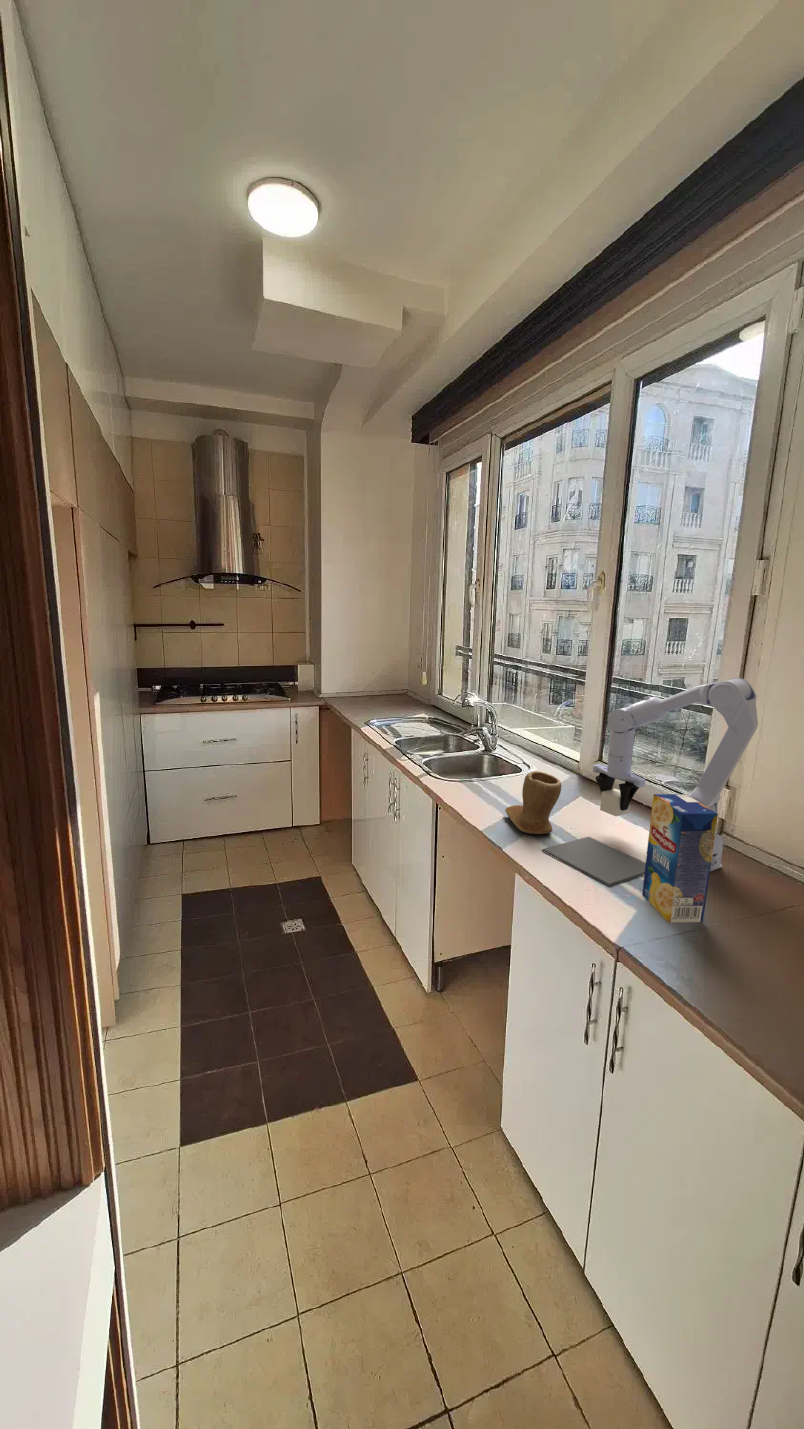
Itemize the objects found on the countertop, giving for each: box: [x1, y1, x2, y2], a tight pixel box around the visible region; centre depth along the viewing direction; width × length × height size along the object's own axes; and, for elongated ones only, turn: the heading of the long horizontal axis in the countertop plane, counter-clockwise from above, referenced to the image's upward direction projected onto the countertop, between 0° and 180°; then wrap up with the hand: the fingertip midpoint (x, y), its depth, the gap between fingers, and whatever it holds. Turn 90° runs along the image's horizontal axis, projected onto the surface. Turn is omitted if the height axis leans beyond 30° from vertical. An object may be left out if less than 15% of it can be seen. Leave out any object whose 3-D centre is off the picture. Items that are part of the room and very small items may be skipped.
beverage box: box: [641, 793, 719, 924], centre depth 116 cm, size 7×11×22 cm, turn 4°
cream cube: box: [599, 788, 631, 817], centre depth 150 cm, size 5×5×5 cm
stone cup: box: [504, 770, 562, 835], centre depth 156 cm, size 15×12×15 cm
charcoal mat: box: [542, 836, 646, 887], centre depth 138 cm, size 20×16×1 cm
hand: (615, 806), depth 151 cm, fingers closed on cream cube, 5 cm apart
